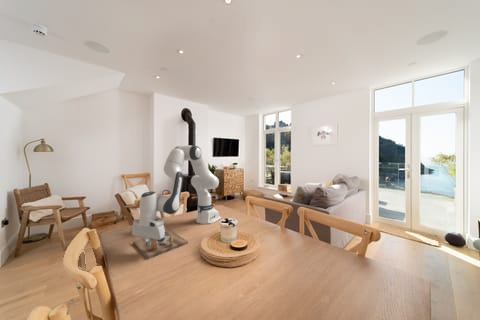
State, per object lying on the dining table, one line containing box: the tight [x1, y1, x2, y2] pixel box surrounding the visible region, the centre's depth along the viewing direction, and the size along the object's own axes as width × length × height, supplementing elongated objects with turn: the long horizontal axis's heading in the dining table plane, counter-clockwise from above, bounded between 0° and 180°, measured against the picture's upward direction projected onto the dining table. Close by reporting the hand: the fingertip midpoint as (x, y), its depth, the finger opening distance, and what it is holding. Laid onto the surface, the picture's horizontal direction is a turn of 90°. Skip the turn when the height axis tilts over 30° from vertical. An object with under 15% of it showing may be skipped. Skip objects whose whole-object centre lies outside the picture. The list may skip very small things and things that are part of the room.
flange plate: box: [150, 236, 170, 249], centre depth 110 cm, size 16×9×6 cm, turn 3°
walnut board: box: [132, 229, 189, 260], centre depth 113 cm, size 24×24×8 cm
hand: (147, 244), depth 103 cm, fingers closed
